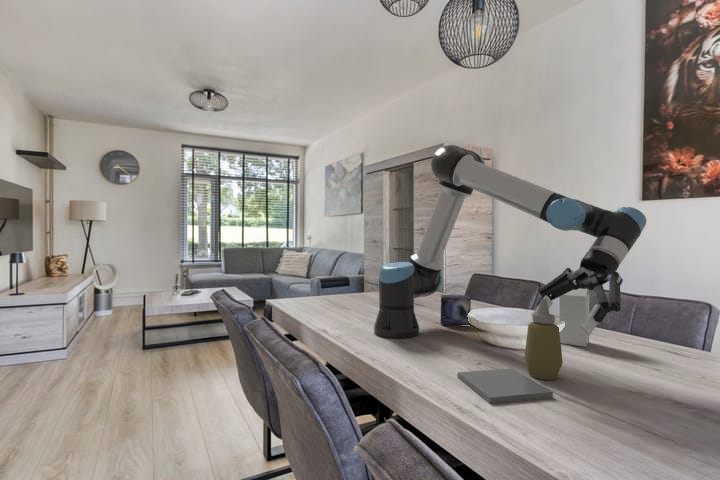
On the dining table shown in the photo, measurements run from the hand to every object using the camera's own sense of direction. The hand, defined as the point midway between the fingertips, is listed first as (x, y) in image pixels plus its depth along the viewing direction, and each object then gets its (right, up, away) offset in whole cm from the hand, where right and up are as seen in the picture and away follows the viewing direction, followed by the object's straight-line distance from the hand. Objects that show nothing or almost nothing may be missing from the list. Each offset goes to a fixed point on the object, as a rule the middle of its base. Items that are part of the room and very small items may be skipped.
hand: (558, 324), depth 90 cm
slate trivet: (-16, -12, -7) cm, 21 cm away
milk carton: (+19, -12, +28) cm, 36 cm away
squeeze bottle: (-4, -12, 0) cm, 13 cm away
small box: (-11, -12, +52) cm, 55 cm away
